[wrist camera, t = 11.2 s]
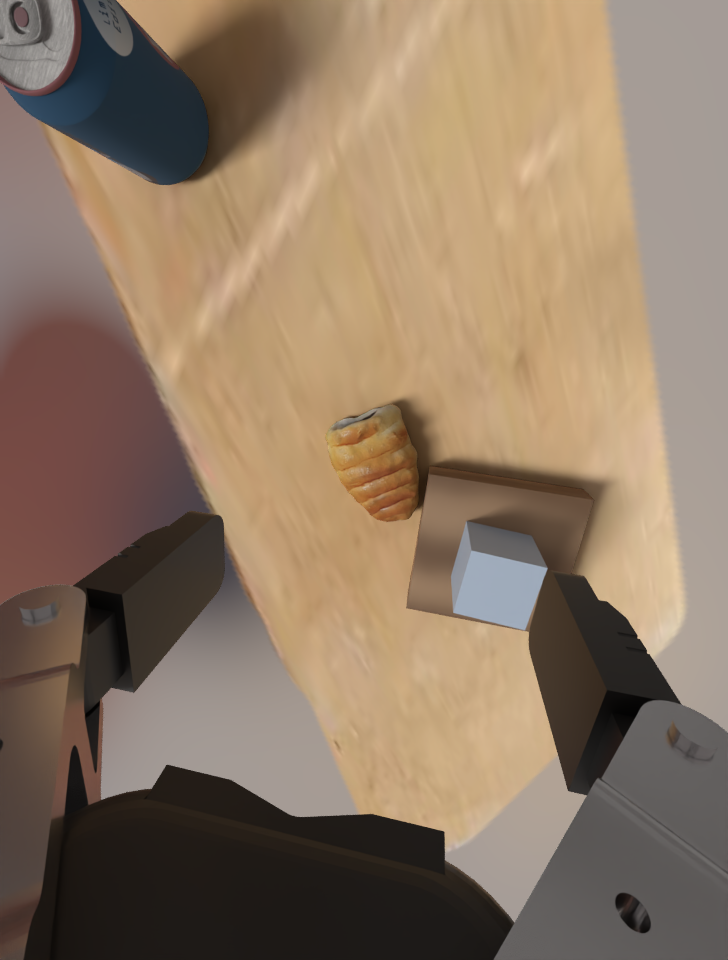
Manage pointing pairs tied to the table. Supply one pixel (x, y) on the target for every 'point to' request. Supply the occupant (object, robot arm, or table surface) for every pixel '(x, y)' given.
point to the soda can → (103, 85)
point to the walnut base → (495, 503)
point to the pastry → (376, 462)
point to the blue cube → (496, 575)
